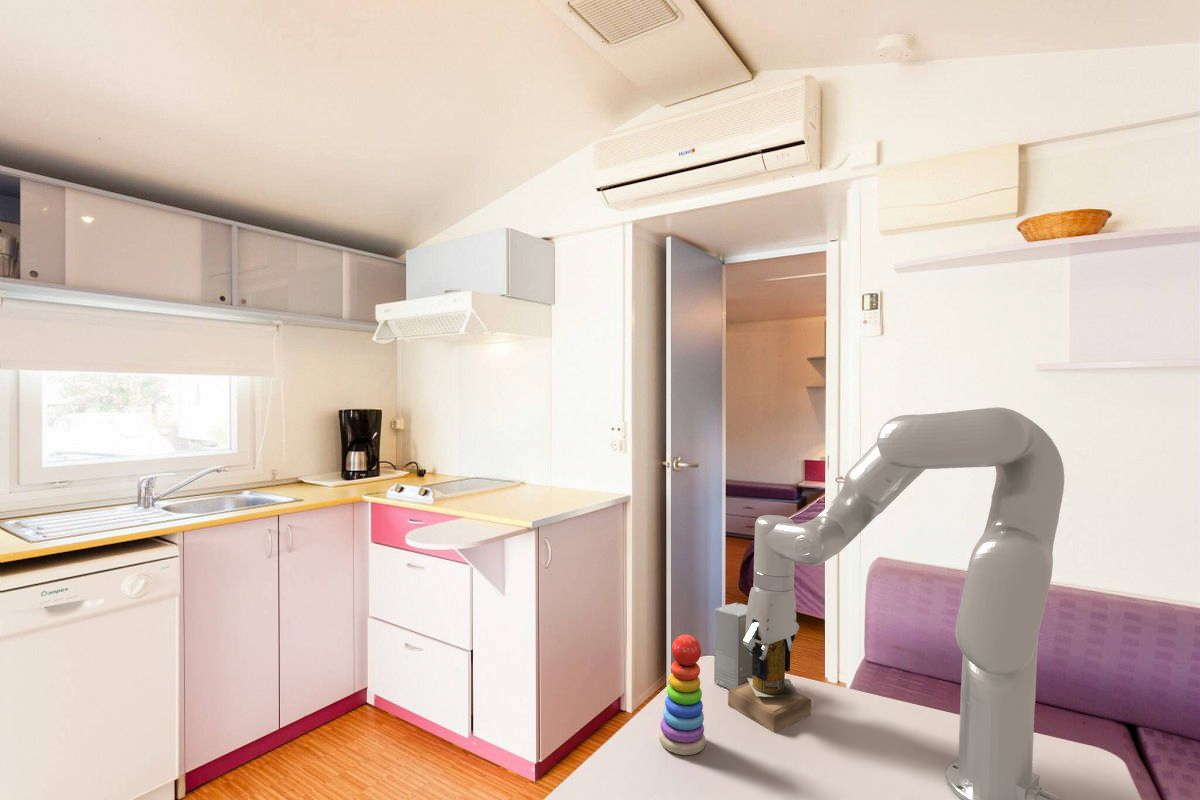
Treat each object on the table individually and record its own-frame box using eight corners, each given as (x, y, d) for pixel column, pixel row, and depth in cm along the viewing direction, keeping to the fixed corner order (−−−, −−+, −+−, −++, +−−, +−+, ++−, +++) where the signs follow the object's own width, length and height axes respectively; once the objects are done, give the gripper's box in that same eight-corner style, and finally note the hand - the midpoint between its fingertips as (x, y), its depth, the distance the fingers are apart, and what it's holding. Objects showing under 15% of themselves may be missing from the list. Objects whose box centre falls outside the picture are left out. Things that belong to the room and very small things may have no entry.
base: (810, 714, 113) (811, 698, 113) (773, 732, 107) (774, 715, 107) (764, 690, 122) (765, 675, 122) (727, 705, 116) (728, 689, 116)
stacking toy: (704, 761, 98) (708, 649, 98) (656, 753, 100) (660, 643, 99) (705, 734, 106) (709, 630, 106) (661, 728, 107) (664, 625, 107)
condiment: (746, 678, 118) (748, 619, 118) (789, 679, 118) (790, 620, 118) (756, 697, 111) (757, 633, 111) (801, 698, 111) (802, 634, 111)
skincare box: (738, 695, 120) (741, 617, 120) (710, 682, 125) (712, 607, 125) (761, 682, 126) (764, 608, 125) (733, 670, 131) (735, 599, 131)
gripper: (785, 568, 122) (783, 655, 122) (728, 582, 112) (725, 676, 112) (817, 578, 116) (814, 669, 116) (759, 594, 106) (756, 693, 106)
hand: (771, 672), depth 114 cm, fingers closed on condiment, 6 cm apart
